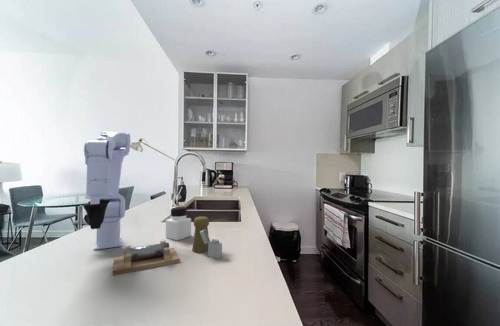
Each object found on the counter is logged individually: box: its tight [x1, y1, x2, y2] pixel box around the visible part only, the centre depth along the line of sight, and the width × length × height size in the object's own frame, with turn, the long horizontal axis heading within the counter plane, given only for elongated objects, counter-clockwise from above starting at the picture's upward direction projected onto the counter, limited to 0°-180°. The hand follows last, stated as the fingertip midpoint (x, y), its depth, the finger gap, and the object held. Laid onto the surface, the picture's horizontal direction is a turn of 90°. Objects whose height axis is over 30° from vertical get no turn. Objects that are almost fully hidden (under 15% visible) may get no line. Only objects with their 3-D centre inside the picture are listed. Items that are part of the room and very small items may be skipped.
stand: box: [111, 240, 181, 276], centre depth 66 cm, size 10×17×4 cm, turn 119°
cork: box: [191, 216, 210, 254], centre depth 76 cm, size 6×6×11 cm
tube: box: [123, 242, 170, 263], centre depth 66 cm, size 4×12×4 cm, turn 119°
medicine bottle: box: [165, 205, 192, 241], centre depth 90 cm, size 7×7×12 cm
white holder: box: [200, 229, 223, 259], centre depth 71 cm, size 7×2×8 cm, turn 72°
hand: (97, 225), depth 67 cm, fingers open, 7 cm apart
